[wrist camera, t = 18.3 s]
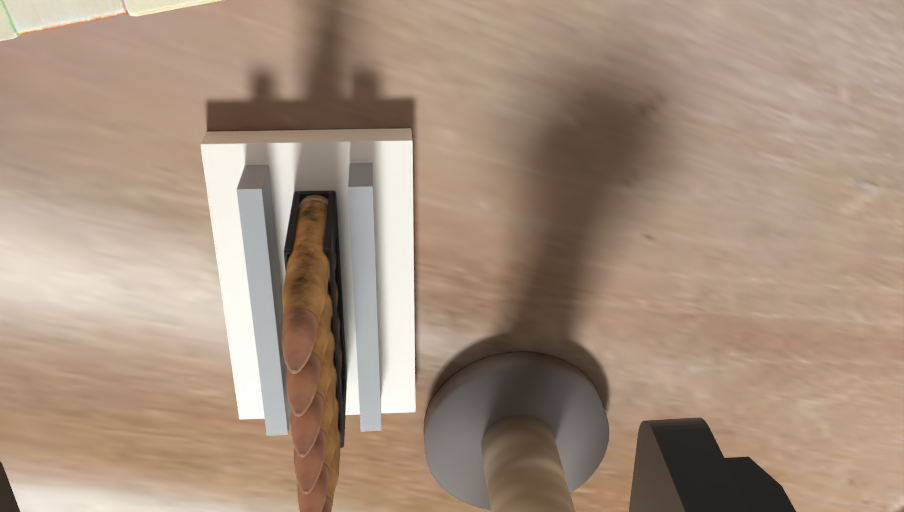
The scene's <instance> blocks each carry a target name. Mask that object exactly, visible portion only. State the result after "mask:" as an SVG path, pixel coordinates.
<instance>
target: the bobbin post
mask: <svg viewBox="0 0 904 512" xmlns="http://www.w3.org/2000/svg"><path fill="white" fill-rule="evenodd" d="M424 440H425V452H426V459H427V463H428V467H429V469H430V471H431V473H432V475H433V476H434V478H435V479H436V481H437V482H438V483H439V484H440V485H441V487H442V488H443V489H444V490H446V491H447V492H448V493H449V494H451V495H452V496H454V497H455V498H457V499H459V500H460V501H463V502H465V503H467V504H469V505H472V506H475V507H479V508H483V509H488V510H491V512H575V510H574V506H573V502H572V499H571V495H570V493H571V492H573V491H574V490H576V489H577V488H578V487H580V486H581V485H582V484H583V483H585V482H586V481H587V480H588V478H589V477H590V476H591V475H592V474H593V473H594V472H595V470H596V469H597V468H598V466H599V464H600V463H601V461H602V459H603V457H604V455H605V452H606V449H607V445H608V441H609V425H608V419H607V416H606V413H605V410H604V407H603V405H602V402H601V399H600V396H599V394H598V392H597V390H596V388H595V386H594V385H593V383H592V382H591V381H590V379H589V378H588V377H587V376H586V375H585V374H584V373H583V372H582V371H581V370H579V369H578V368H576V367H575V366H574V365H572V364H570V363H568V362H566V361H564V360H562V359H559V358H557V357H554V356H550V355H546V354H542V353H535V352H510V353H503V354H498V355H493V356H490V357H487V358H484V359H481V360H479V361H476V362H474V363H472V364H470V365H468V366H466V367H464V368H463V369H461V370H459V371H458V372H457V373H455V374H454V375H453V376H451V377H450V378H449V379H448V380H447V381H446V382H445V383H444V384H443V385H442V386H441V387H440V389H439V390H438V391H437V392H436V394H435V395H434V397H433V399H432V400H431V402H430V404H429V407H428V409H427V412H426V416H425V420H424Z"/></svg>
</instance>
